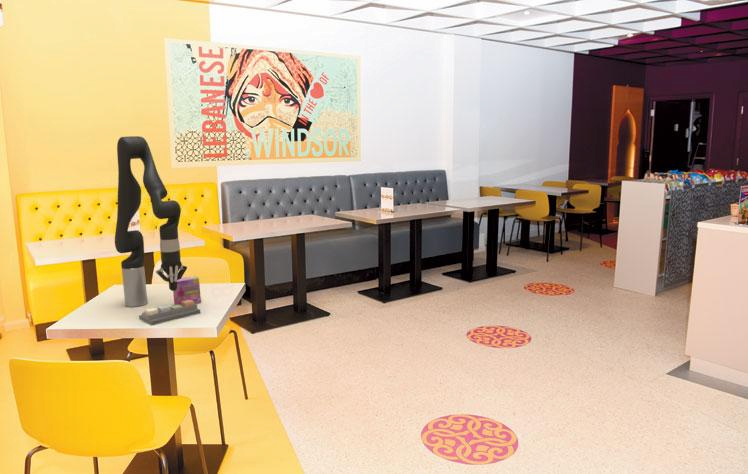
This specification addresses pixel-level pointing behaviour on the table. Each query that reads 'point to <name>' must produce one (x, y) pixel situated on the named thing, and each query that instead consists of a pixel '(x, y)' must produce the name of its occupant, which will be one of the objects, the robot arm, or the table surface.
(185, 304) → the key terracotta
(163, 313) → the keypad
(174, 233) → the robot arm
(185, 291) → the box
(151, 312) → the key cream
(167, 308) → the key blue
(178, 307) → the key sage
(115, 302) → the table surface
